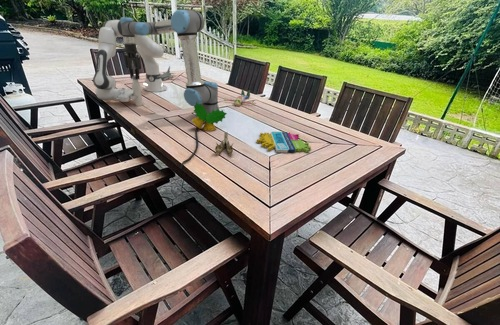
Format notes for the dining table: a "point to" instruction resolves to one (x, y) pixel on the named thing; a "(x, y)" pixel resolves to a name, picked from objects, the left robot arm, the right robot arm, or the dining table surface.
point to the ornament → (207, 117)
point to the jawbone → (224, 145)
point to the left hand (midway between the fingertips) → (138, 96)
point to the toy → (241, 99)
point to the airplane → (166, 74)
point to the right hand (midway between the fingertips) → (135, 78)
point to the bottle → (137, 92)
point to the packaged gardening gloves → (283, 142)
